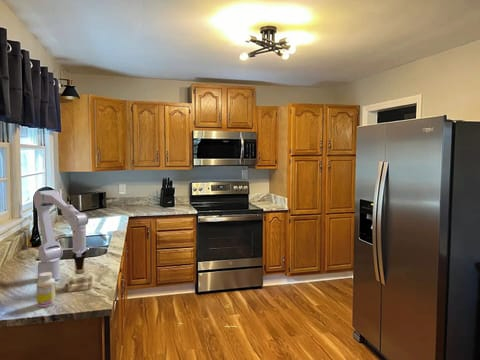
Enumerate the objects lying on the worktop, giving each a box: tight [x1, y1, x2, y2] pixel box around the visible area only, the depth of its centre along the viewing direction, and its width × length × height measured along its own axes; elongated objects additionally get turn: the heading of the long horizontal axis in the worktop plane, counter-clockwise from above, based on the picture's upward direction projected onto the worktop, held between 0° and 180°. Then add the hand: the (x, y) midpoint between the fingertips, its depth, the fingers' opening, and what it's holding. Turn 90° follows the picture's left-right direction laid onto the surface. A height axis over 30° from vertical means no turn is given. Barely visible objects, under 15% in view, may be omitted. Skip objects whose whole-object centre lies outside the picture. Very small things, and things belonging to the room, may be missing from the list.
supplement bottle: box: [36, 272, 57, 308], centre depth 147 cm, size 7×7×13 cm
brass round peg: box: [73, 259, 85, 275], centre depth 167 cm, size 4×4×7 cm
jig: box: [67, 275, 93, 293], centre depth 168 cm, size 10×12×2 cm
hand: (80, 268), depth 167 cm, fingers closed on brass round peg, 4 cm apart
